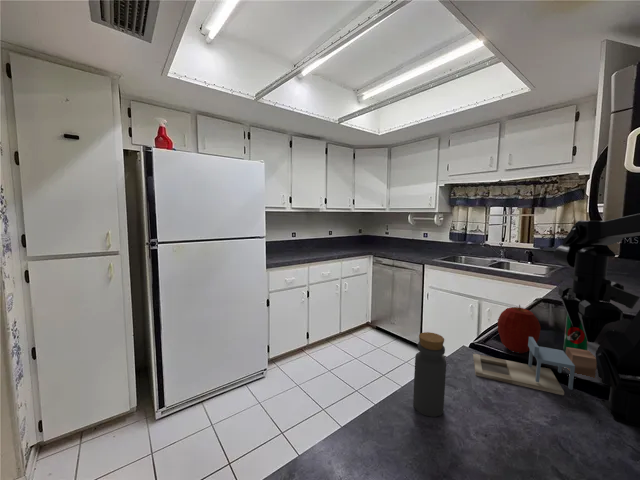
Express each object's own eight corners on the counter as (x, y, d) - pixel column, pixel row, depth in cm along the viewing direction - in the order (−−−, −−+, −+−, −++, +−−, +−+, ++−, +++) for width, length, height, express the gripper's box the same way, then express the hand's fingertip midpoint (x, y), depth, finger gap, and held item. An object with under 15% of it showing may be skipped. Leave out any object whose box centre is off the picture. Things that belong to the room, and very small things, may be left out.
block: (594, 379, 67) (597, 359, 67) (570, 374, 69) (572, 354, 69) (587, 369, 71) (589, 350, 71) (564, 365, 73) (566, 346, 73)
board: (563, 396, 62) (564, 391, 61) (475, 375, 69) (475, 372, 69) (550, 372, 70) (550, 368, 70) (473, 357, 78) (473, 353, 78)
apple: (536, 364, 74) (541, 313, 73) (492, 351, 81) (496, 304, 80) (539, 350, 82) (544, 304, 81) (499, 339, 89) (503, 296, 87)
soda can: (591, 358, 78) (596, 316, 77) (570, 356, 79) (574, 314, 78) (578, 349, 83) (583, 310, 81) (559, 347, 84) (563, 308, 82)
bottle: (407, 401, 59) (410, 333, 58) (429, 395, 61) (432, 329, 60) (426, 420, 54) (430, 345, 52) (450, 413, 56) (454, 341, 54)
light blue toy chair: (572, 389, 62) (576, 355, 61) (532, 381, 65) (535, 348, 64) (560, 371, 69) (563, 340, 68) (525, 364, 72) (528, 335, 71)
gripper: (662, 285, 56) (652, 360, 58) (615, 268, 73) (608, 326, 74) (589, 279, 61) (581, 348, 63) (560, 264, 78) (555, 319, 79)
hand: (582, 334), depth 70 cm, fingers open, 9 cm apart
